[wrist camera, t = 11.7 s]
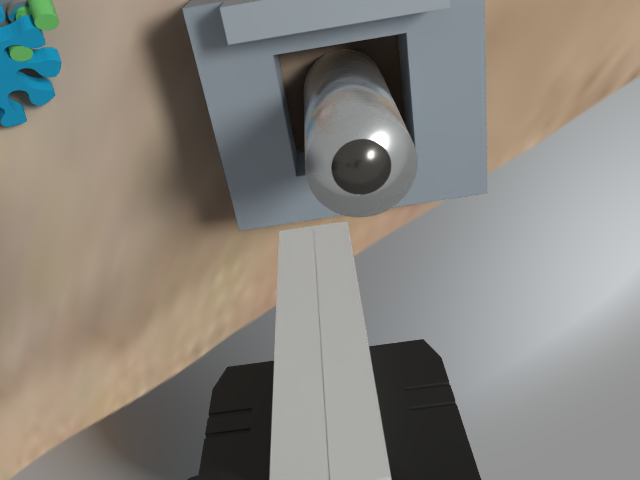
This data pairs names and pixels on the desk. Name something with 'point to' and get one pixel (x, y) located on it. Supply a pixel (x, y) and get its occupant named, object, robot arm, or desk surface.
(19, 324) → the desk surface
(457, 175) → the frame
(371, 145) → the bushing
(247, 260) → the desk surface
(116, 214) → the desk surface
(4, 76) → the gear
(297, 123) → the desk surface
